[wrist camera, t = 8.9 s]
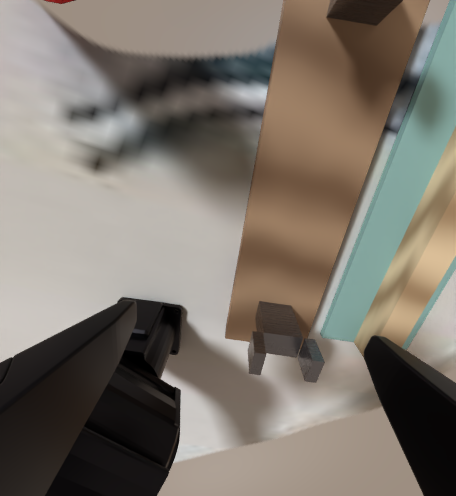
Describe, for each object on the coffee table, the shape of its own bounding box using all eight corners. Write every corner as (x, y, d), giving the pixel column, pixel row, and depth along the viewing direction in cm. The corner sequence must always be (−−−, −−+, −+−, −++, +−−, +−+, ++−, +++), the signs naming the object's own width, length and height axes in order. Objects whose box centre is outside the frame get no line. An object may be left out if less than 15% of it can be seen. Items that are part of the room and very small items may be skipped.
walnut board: (299, 338, 24) (303, 349, 22) (225, 327, 24) (225, 338, 22) (439, -68, 12) (464, -96, 11) (299, -92, 12) (307, -124, 11)
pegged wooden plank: (295, 323, 21) (315, 382, 16) (245, 316, 21) (249, 373, 15) (407, -19, 12) (551, -171, 7) (321, -34, 12) (394, -200, 6)
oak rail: (376, 345, 23) (391, 365, 21) (353, 341, 23) (366, 361, 21) (573, -29, 12) (647, -70, 10) (532, -36, 12) (597, -80, 10)
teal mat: (402, 345, 24) (406, 349, 23) (320, 333, 23) (322, 337, 23) (612, -11, 13) (629, -19, 12) (464, -37, 13) (474, -46, 12)
